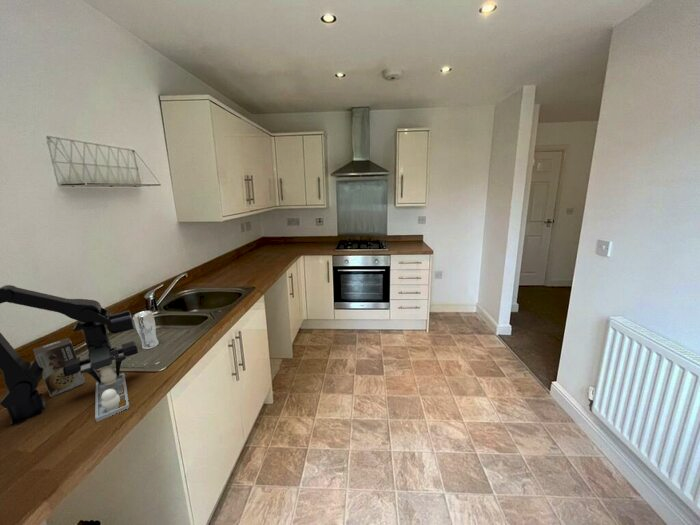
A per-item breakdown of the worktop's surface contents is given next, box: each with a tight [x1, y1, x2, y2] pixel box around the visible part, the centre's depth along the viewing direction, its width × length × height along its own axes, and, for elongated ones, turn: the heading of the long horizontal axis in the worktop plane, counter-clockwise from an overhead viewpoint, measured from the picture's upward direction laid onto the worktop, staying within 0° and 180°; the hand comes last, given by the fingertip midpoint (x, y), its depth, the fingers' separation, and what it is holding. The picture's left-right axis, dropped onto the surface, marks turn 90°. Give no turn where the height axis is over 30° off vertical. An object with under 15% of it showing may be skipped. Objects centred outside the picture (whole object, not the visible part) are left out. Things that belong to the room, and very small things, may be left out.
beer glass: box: [132, 310, 160, 350], centre depth 124 cm, size 7×7×15 cm
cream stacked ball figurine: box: [99, 365, 117, 386], centre depth 98 cm, size 4×4×6 cm
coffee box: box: [32, 337, 86, 398], centre depth 99 cm, size 9×6×16 cm
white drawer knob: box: [101, 389, 120, 412], centre depth 88 cm, size 4×4×6 cm
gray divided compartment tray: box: [94, 372, 130, 423], centre depth 94 cm, size 8×22×2 cm, turn 40°
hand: (109, 379), depth 99 cm, fingers closed on cream stacked ball figurine, 4 cm apart
